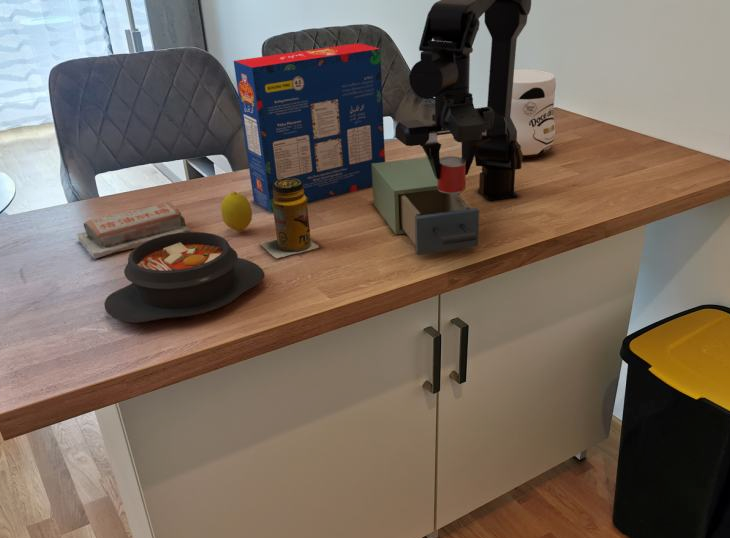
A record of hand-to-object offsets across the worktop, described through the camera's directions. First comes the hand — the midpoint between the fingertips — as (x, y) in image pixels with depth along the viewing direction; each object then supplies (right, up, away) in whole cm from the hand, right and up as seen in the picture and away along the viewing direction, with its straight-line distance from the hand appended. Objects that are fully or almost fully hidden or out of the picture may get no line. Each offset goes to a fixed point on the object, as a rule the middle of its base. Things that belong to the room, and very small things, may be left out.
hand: (451, 176), depth 129 cm
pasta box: (-27, +3, +27) cm, 38 cm away
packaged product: (-59, -10, +7) cm, 60 cm away
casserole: (-42, -23, -13) cm, 50 cm away
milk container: (+18, +17, +49) cm, 55 cm away
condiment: (-29, -12, +3) cm, 32 cm away
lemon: (-40, -9, +9) cm, 42 cm away
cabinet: (-7, -4, +16) cm, 18 cm away
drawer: (-2, -11, +3) cm, 11 cm away
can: (0, -2, +1) cm, 2 cm away
